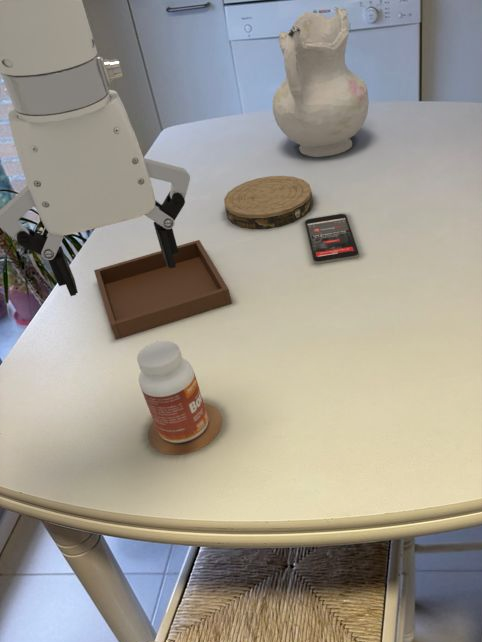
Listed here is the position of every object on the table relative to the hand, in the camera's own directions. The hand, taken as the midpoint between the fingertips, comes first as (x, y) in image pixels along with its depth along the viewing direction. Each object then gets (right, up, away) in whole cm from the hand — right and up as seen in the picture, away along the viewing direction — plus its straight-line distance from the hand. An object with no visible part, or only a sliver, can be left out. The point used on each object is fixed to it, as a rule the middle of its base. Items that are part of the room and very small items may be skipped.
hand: (122, 275), depth 64 cm
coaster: (+3, -15, +14) cm, 21 cm away
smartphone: (+21, +16, +44) cm, 51 cm away
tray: (-5, +6, +38) cm, 38 cm away
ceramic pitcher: (+20, +43, +73) cm, 87 cm away
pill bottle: (+3, -15, +14) cm, 21 cm away
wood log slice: (+10, +25, +55) cm, 61 cm away
